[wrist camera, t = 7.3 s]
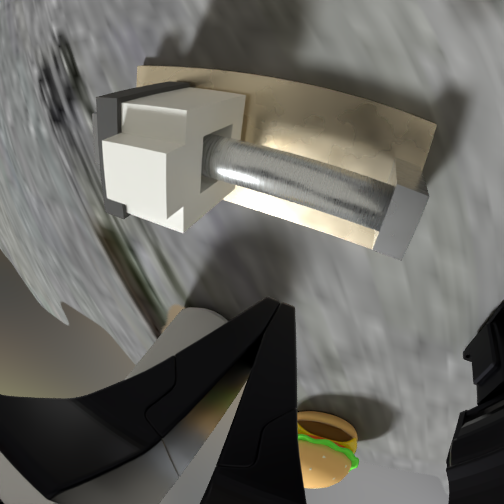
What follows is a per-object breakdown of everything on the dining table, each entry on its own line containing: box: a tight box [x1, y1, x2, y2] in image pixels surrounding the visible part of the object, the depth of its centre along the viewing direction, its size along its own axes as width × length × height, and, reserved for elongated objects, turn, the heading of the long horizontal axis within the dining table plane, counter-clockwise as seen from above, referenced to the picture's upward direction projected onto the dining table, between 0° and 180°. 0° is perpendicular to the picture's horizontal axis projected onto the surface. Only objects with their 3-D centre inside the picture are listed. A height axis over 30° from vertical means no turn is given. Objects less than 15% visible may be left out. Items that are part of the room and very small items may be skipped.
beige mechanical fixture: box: [92, 65, 437, 261], centre depth 17 cm, size 20×9×5 cm, turn 83°
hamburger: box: [297, 411, 359, 489], centre depth 32 cm, size 12×12×9 cm
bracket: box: [102, 87, 246, 233], centre depth 16 cm, size 4×6×8 cm, turn 173°
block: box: [96, 81, 190, 219], centre depth 18 cm, size 2×7×6 cm, turn 173°
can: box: [125, 307, 228, 380], centre depth 28 cm, size 8×8×12 cm
